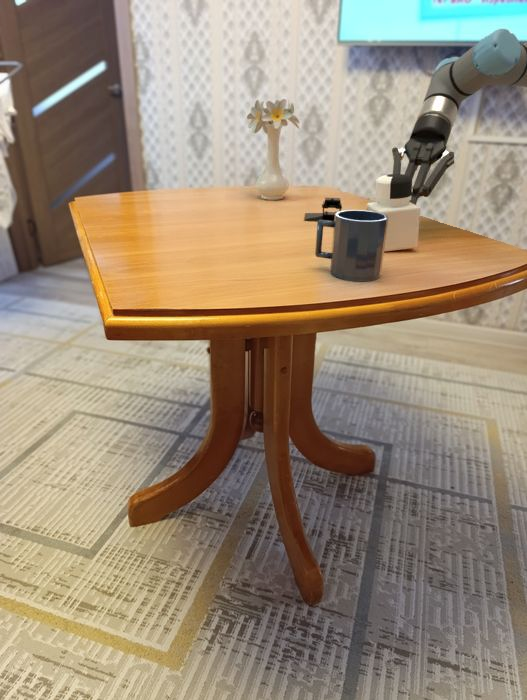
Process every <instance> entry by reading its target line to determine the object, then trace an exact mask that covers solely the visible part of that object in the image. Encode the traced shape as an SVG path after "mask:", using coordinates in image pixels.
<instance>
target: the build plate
mask: <svg viewBox="0 0 527 700" xmlns="http://www.w3.org/2000/svg"><path fill="white" fill-rule="evenodd" d="M321 208H322V212H305V213H304V221H305V222H318V221H319V220H327V221H334V219H335V213H337V212H340V211H342V209H343V206H342V202H341V198H340V197H327V196H326V197H324V200H323V202H322V204H321ZM325 209H336V210H338V211H327V210H325Z"/></svg>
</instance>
